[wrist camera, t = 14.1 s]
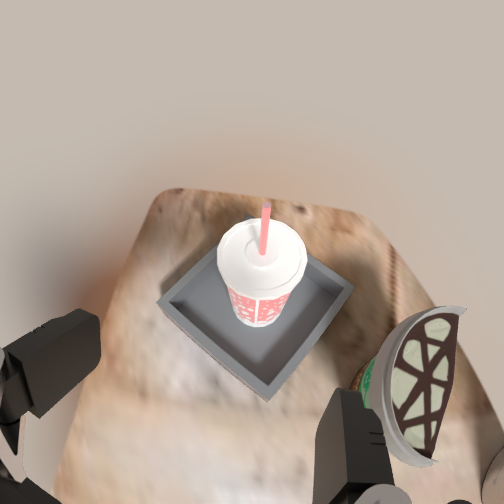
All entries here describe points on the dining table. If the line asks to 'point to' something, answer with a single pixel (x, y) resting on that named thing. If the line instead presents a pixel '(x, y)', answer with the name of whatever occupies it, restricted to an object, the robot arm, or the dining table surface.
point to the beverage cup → (260, 267)
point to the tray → (255, 338)
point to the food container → (412, 382)
